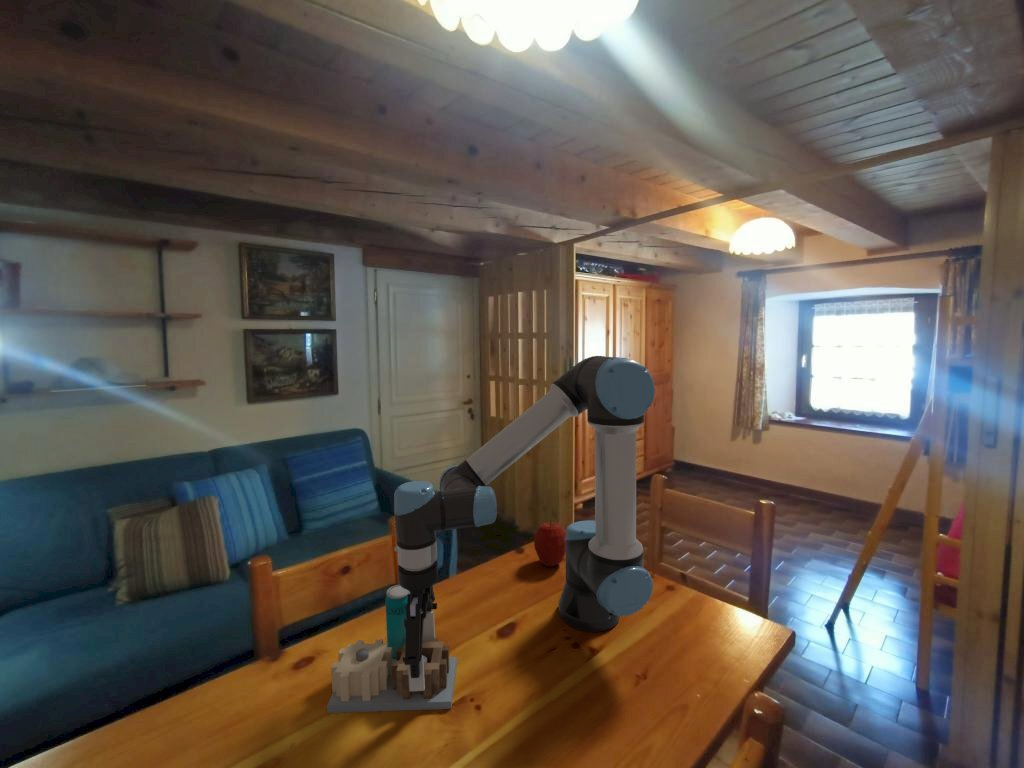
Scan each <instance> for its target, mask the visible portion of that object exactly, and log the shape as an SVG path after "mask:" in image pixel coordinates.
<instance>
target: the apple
mask: <svg viewBox="0 0 1024 768" xmlns="http://www.w3.org/2000/svg"><path fill="white" fill-rule="evenodd" d="M565 538H566V530H565V529H564V528H563V526H562V525H561V524H559V523H557V522H554V521H552V520H549V521H547V522H543V523H541V524H540V526H538V528H537V529H536V531H535V534H534V537H533V541H534V543H533V545H534V550H535V553H536V554H537V557H538V559H539V561H540V562H541V563H542V564H543V565H545V567H548V568H549V567H550V568H551V567H555V566H556V565H557V566H558V564H560V563H561V562H562V561H563V559H564V557H565V556H566V540H565Z"/></svg>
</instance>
